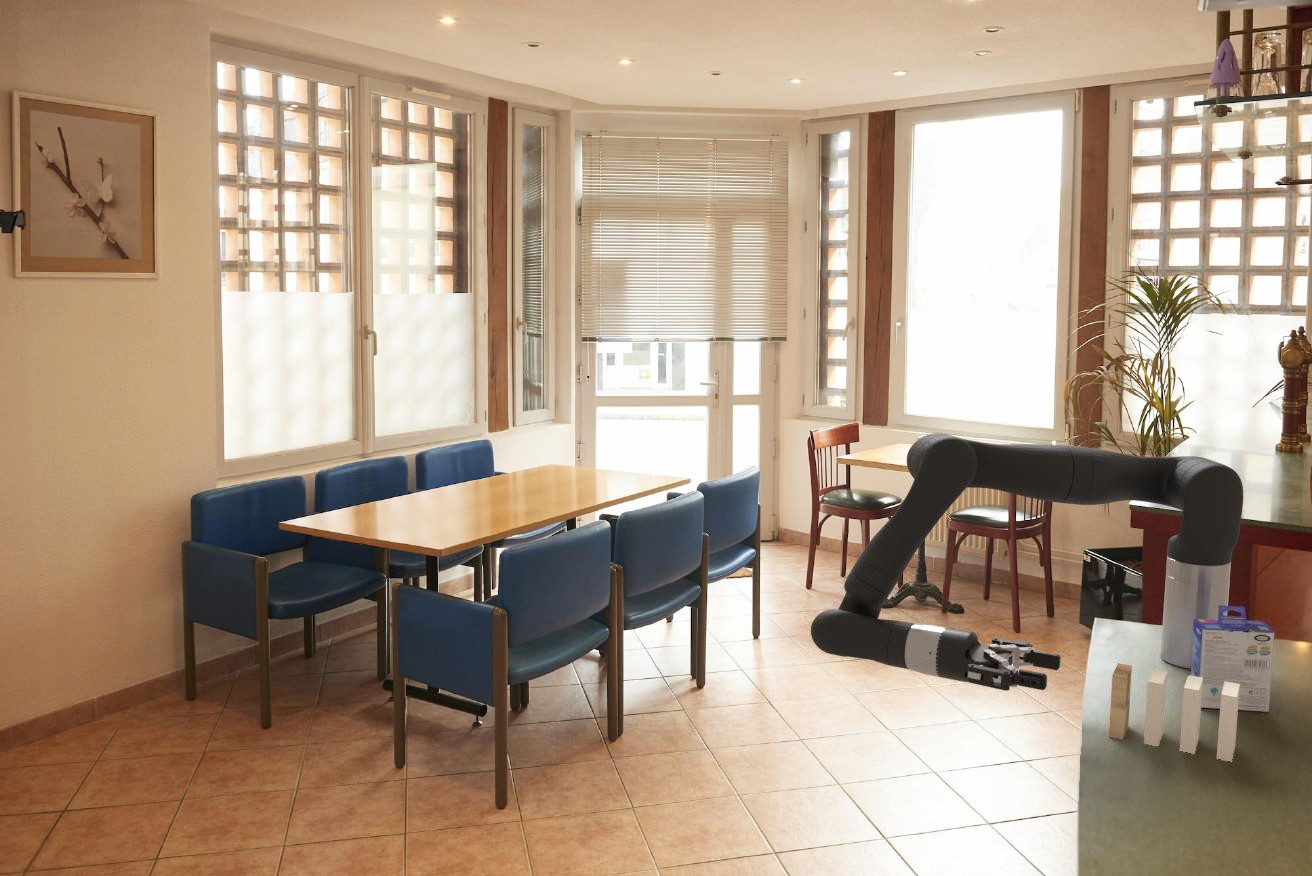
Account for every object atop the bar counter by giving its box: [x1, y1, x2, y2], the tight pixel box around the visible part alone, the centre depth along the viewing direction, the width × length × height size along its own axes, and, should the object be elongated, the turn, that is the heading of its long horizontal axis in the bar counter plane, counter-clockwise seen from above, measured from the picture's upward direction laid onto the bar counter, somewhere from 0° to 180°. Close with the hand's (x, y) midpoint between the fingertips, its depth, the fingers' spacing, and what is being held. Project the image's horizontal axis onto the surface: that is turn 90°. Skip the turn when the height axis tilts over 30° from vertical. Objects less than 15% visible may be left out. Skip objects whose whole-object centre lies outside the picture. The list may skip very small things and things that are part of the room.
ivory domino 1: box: [1143, 668, 1168, 747], centre depth 146 cm, size 5×2×9 cm, turn 148°
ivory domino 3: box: [1216, 681, 1240, 763], centre depth 142 cm, size 5×2×9 cm, turn 148°
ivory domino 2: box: [1179, 674, 1203, 755], centre depth 144 cm, size 5×2×9 cm, turn 148°
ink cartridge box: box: [1190, 605, 1276, 713], centre depth 157 cm, size 10×6×14 cm, turn 78°
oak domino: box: [1108, 662, 1133, 740], centre depth 148 cm, size 5×2×9 cm, turn 149°
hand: (1053, 672), depth 153 cm, fingers open, 8 cm apart
